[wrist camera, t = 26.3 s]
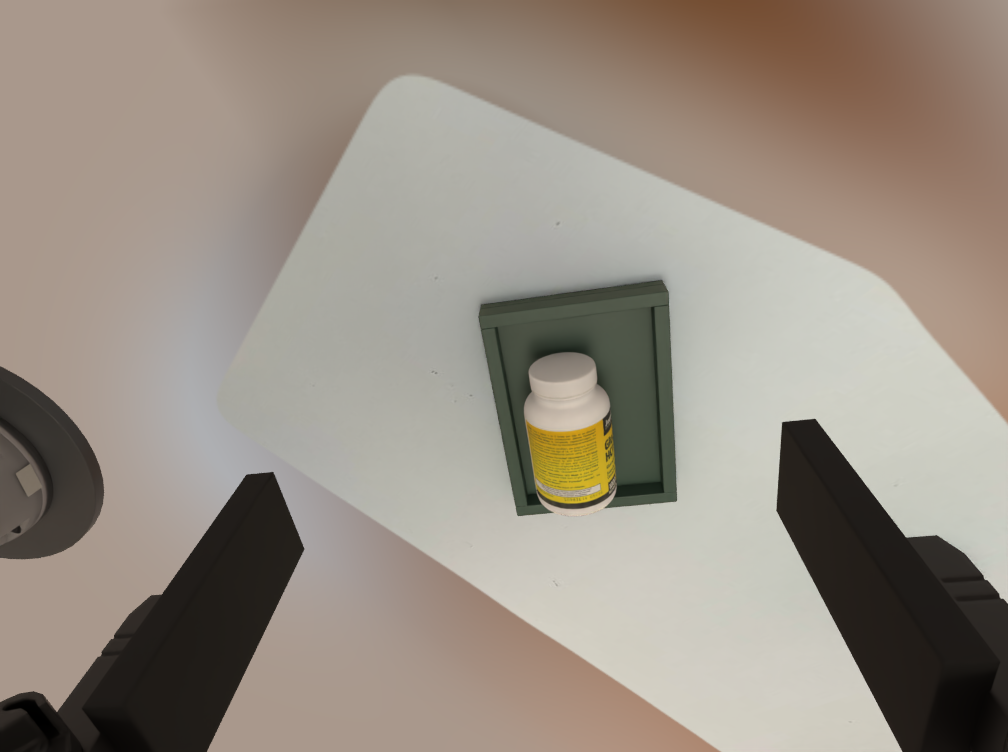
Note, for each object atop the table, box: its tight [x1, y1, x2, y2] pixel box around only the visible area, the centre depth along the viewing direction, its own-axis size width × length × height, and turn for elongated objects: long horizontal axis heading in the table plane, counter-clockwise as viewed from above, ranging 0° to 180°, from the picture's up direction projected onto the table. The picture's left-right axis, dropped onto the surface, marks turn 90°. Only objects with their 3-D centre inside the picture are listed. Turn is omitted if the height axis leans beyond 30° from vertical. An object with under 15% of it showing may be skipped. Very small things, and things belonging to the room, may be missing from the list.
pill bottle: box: [524, 352, 617, 516], centre depth 44 cm, size 6×6×11 cm
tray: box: [479, 280, 677, 516], centre depth 46 cm, size 18×13×2 cm
